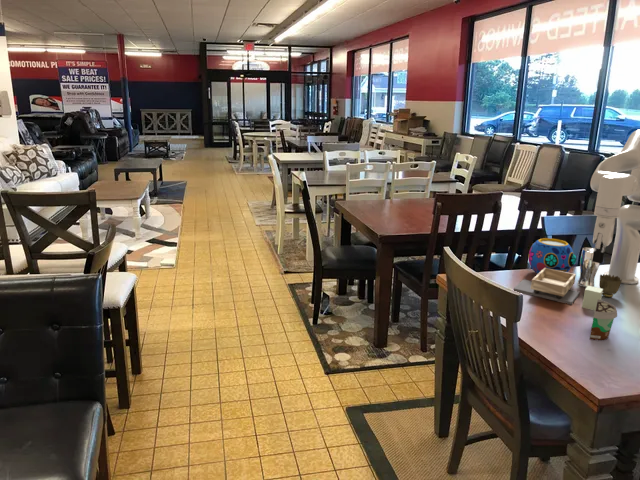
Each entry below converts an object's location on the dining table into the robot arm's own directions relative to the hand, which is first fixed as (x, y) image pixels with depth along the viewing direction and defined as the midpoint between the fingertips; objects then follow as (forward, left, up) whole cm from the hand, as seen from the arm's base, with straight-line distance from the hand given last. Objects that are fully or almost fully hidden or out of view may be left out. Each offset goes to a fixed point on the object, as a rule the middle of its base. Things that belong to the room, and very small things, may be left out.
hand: (597, 261), depth 180 cm
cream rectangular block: (0, +1, -17) cm, 17 cm away
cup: (-15, +4, -17) cm, 23 cm away
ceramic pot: (-25, -20, -17) cm, 37 cm away
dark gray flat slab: (-4, -16, -17) cm, 24 cm away
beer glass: (-23, -5, -17) cm, 29 cm away
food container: (+24, +8, -17) cm, 30 cm away
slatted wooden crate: (-4, -14, -16) cm, 21 cm away
